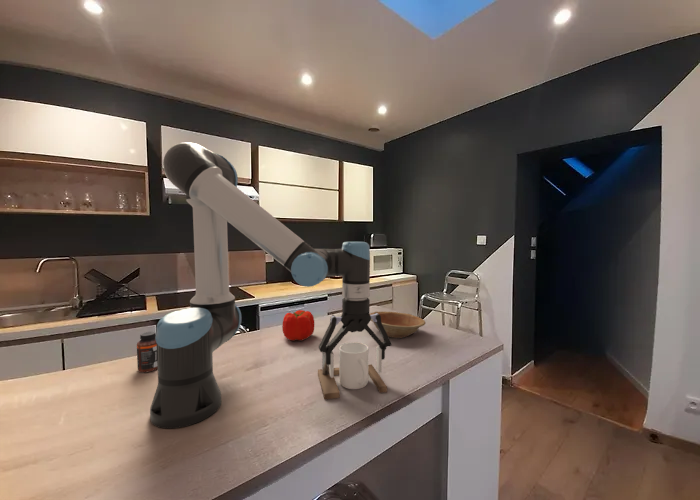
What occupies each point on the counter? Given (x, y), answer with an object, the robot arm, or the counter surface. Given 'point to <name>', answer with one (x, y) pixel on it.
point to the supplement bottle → (147, 352)
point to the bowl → (399, 323)
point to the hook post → (324, 364)
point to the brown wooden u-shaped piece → (332, 390)
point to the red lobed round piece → (298, 325)
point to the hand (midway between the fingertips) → (355, 372)
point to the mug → (353, 365)
